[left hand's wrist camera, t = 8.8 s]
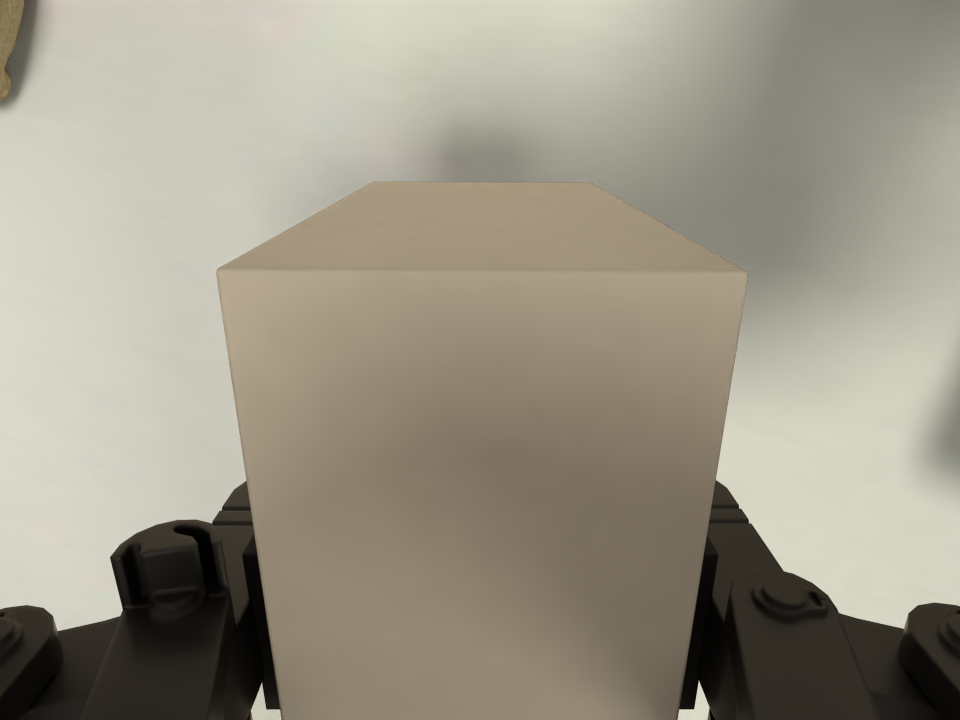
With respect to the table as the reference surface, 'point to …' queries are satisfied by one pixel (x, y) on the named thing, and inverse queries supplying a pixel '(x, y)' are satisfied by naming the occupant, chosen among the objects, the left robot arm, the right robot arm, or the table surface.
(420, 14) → the table surface
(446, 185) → the post
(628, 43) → the table surface
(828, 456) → the table surface
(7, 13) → the sculpture
